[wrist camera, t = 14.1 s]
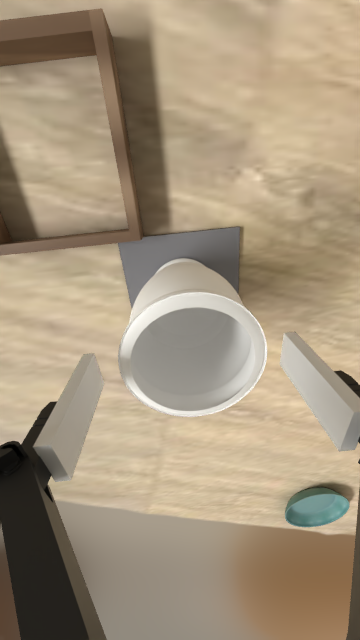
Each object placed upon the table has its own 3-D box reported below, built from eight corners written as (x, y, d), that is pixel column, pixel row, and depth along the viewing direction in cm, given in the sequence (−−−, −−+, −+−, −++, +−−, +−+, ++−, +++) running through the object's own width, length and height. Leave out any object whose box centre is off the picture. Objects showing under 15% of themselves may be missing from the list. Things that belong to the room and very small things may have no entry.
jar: (143, 244, 26) (114, 285, 13) (230, 252, 27) (289, 300, 14) (141, 325, 31) (118, 416, 18) (215, 330, 32) (248, 421, 18)
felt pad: (118, 239, 26) (117, 240, 26) (238, 226, 26) (239, 227, 26) (139, 341, 33) (139, 343, 32) (236, 331, 33) (237, 333, 32)
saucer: (355, 489, 54) (363, 502, 52) (313, 518, 60) (319, 531, 57) (307, 475, 51) (314, 489, 48) (268, 507, 56) (272, 521, 54)
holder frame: (-76, 57, 19) (-116, 34, 17) (111, 35, 19) (102, 8, 16) (7, 251, 27) (-11, 256, 24) (143, 236, 26) (140, 240, 24)
